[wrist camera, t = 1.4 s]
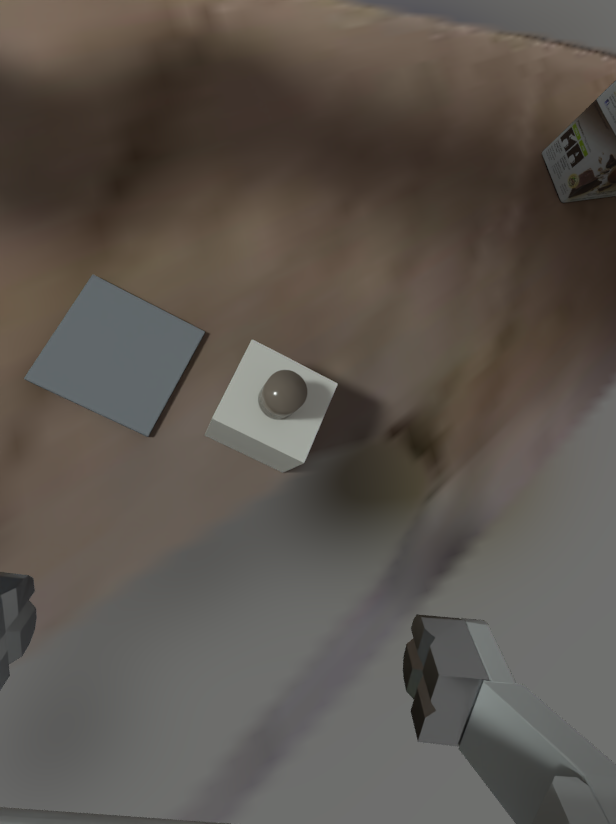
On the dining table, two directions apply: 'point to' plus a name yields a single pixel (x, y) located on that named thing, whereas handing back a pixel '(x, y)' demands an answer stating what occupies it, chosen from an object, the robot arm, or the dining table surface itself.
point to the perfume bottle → (272, 408)
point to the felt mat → (116, 356)
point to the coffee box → (586, 153)
